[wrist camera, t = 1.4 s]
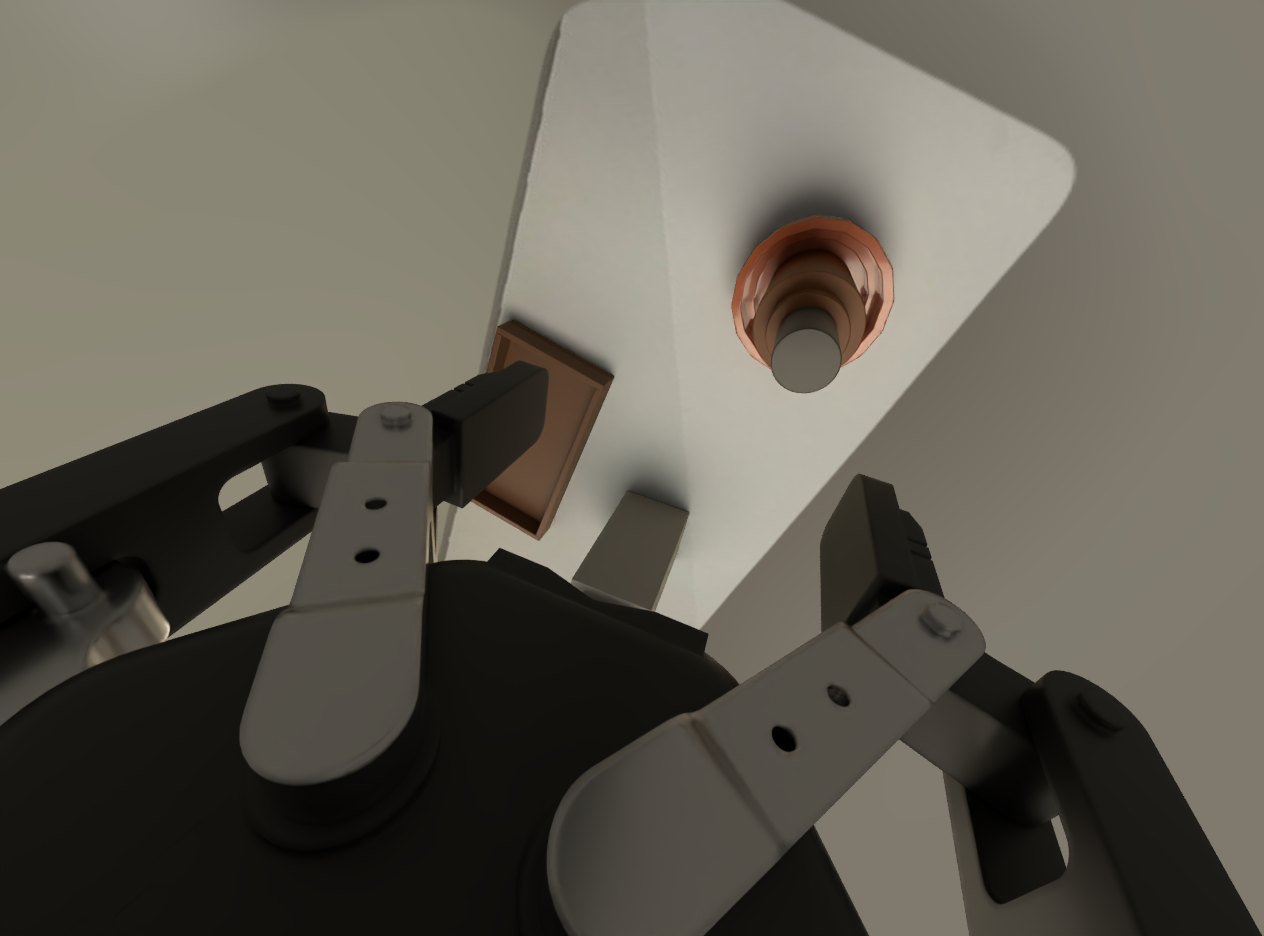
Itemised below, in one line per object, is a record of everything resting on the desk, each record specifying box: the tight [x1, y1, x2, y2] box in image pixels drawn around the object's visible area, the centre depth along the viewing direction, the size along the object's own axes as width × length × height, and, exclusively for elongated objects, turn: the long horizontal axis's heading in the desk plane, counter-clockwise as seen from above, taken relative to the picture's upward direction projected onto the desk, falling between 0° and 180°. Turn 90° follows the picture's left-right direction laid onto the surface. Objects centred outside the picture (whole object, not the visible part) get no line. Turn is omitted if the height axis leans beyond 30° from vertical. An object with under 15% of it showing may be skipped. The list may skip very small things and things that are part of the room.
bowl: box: [731, 215, 894, 369], centre depth 32 cm, size 10×10×5 cm
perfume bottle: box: [571, 491, 689, 612], centre depth 42 cm, size 7×7×18 cm
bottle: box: [752, 249, 866, 393], centre depth 26 cm, size 6×6×17 cm
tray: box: [471, 320, 614, 541], centre depth 48 cm, size 21×11×3 cm, turn 156°
